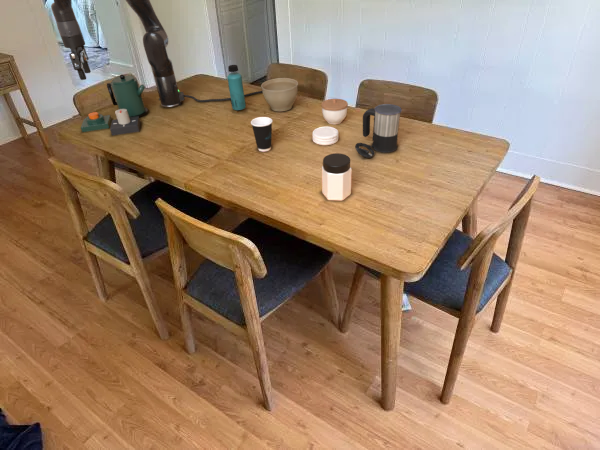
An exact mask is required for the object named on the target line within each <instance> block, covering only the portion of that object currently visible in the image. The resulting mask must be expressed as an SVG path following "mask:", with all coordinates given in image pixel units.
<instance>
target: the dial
mask: <svg viewBox="0 0 600 450" xmlns="http://www.w3.org/2000/svg"><path fill="white" fill-rule="evenodd" d="M114 115H115V117H116V119H117V120H118V123H119V124H121V125H124V124H128V123H130V118H129V115H128V112H127V109H119V108H118V109H116V110H115V111H114Z"/></svg>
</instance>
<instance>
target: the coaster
mask: <svg viewBox="0 0 600 450" xmlns="http://www.w3.org/2000/svg"><path fill="white" fill-rule="evenodd" d="M311 134H312V135H311V137H312V141H313V143H315V144H317V145H318V146H319V145H320V146H331V145H334V144H336V143H337V142H338V141H339V130H338V129H337V128H335V127H333V126H328V125H327V126H319V127H316V128H314V129H313V130H312V133H311Z"/></svg>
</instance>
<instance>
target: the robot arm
mask: <svg viewBox="0 0 600 450" xmlns="http://www.w3.org/2000/svg"><path fill="white" fill-rule="evenodd" d="M125 2H126V4H128V6H129V7H130V8H131V10H132V11H133V12H134V13H135V15H137V17H138V18H139V20H140V22H141V24H142V26H143V28H144V31H145V33H144V34H143V36H142V44H143V48H144V49H143V50H144V52H145V55H146V58H147V61H148V63H149V65H150V67H151V71H152V76H153V78H154V83H155V86H156V90H157V94H158V101H159V103H160V105H161V107H162V108H165V109H171V108H177V107H179V106H182V101H185V98H189V99H193V100H194V101H195V102H198V103H209V102H225V101H231V97H227V98H226V97H225V98H210V99H197V98H196V97H194V96H192V95H188V94H187V95H186V94H185V93H184V91H180V90H179V86H178V82H177V79H176V75H175V70H174V66H173V62H172V60H171V58H169V56H168V52H167V47H168V45H169V36H168V33H167V32H166V30H165V28H164V26H163V25H162V23H161V21H160V19H159V18H158V16H157V14H156V12H155V10H154V6H153V4H152V3H151V0H125ZM72 3H73V2H72V0H53V2H52V3H51V5H50V9H51V12H52V15H53V17H54V20H55V23H56V27H57V31H58V34H59V35H60V39H61V41H62V44H63V46H64V48H66V49H69V50H70V53H69V54H68V56H69V59H70V61H71V63H72V67H73V70H74V71H77V74H78V76H79V77H78V78H79V79H80V81H83V80H84V81H85V80H87V75H86V74H90V73H91V68H90V65H89V60H90V59H89V56H88V54H87V51H86V47H85V45H86V41H85V39H84V36H83V35H84V34H83V33H82V29H81V26H80V24H79V22H78V20H77V17H76V14H75V11H74V8H73V4H72ZM259 94H263V91H262V90H259V91H254V92H250V93H246V94H245V93H244V97H245V98H246V97H249V96H253V95H259Z"/></svg>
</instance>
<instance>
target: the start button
mask: <svg viewBox="0 0 600 450" xmlns="http://www.w3.org/2000/svg"><path fill="white" fill-rule="evenodd" d="M99 114H100V113H99V112H98V111H93V112H90V113H89V114H87V115H88V116H89V118H90V119H96V118H99ZM88 116H87V117H88Z"/></svg>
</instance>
